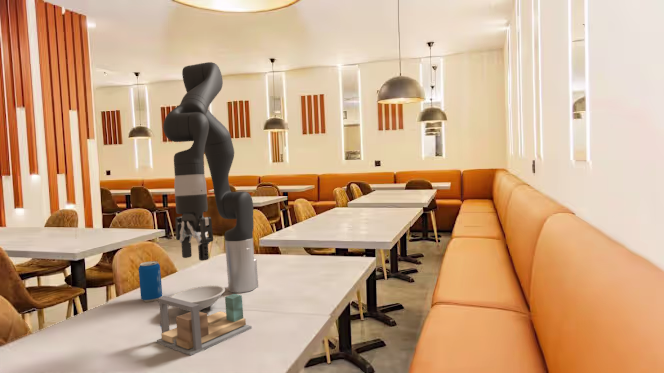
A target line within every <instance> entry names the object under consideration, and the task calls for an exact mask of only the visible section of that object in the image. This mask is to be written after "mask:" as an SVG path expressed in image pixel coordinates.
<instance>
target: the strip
mask: <svg viewBox="0 0 664 373" xmlns="http://www.w3.org/2000/svg"><path fill="white" fill-rule="evenodd" d="M224 301H225V302H224V304H225V313H226V318H227V319H224V320H222V321H219V322H217V323H214V324H212V325H209V326H208V332H209V335H206V336H204V337H202V338H201V343H204V342H207V341H209V340H211V339H213V338H216V337H218V336H220V335H223V334H225V333H227V332H230V331H232V330H234V329H237V328H239V327H241V326H244V325H247V323H246V322H247V321H246V318H244V308H243V296H242V295H241V294H238V293H233V294H230V295H227V296H224ZM176 342H177V345H178V346H181V347H183V348H186V349H190V348H193V341H192V342H188V341H185V340H183V339H180V338H177V339H176Z"/></svg>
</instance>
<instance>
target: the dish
mask: <svg viewBox="0 0 664 373" xmlns="http://www.w3.org/2000/svg"><path fill="white" fill-rule="evenodd" d="M225 291H226V288H225V286H223V285H214V284H213V285H211V284H210V285H200V286H196V287H192V288H191V287H190V288H187V289H184V290H180V291H179V292H177V293H175V294H172V295H170V297H171V298H175V299H179V300H183V301H187V302H191V303H195V304H199V305H200V309H199V312H202V310H203V309H206V308H208V307H210V306H213V304H215V303H216V302H217V301H218V300H219V299H220V298H221V296H222V294H224V293H225ZM179 309H180V310H182V311H188V310H184V309H181V308H179ZM188 312H189V311H188Z"/></svg>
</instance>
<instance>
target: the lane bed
mask: <svg viewBox="0 0 664 373" xmlns="http://www.w3.org/2000/svg"><path fill="white" fill-rule="evenodd" d="M157 301H158V303H159V314H160V326H161V333H164V332H167V331H169V330H170V319H169V307H168V306H170V307H174V308H177V309H180V308H181V309H180V310H182V309H184V310H183V311H186V310H188V312H191V322H192V335H193V348H190V349H186V348H183V347H181V346H178V345H177V342H176V339H175V340H173V342H174V343H170V342H167V341H164V340H162V337H161V338H159V339H156V344H160V345H162V346H164V347H168V348H170V349H173V350H175V351H177V352H180V353H183V354H186V355H188V356H194V355H195V354H198V353H200V352H202V351H205V350H206V349H209V348H210V347H213V346H215V345H217V344H219V343H222V342H224V341H227V340H228V339H231V338H233V337H235V336H237V335H240V334H242V333H244V332H246V331H249V330H251V329H252V325H249V324H246V325H244V326H241V327H239V328H237V329H234V330H232V331H230V332H227V333H225V334H223V335H220V336H218V337H216V338H213V339H211V340H209V341H207V342H204V343H201V330H200V317H199V312H200V311H199V309H200V305H199V304H195V303H191V302H187V301H183V300H179V299H175V298H171V296H167V295H164V296H162V297H160V298H158V300H157Z"/></svg>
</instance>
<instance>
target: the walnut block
mask: <svg viewBox="0 0 664 373" xmlns="http://www.w3.org/2000/svg"><path fill="white" fill-rule="evenodd" d="M207 316H208V313H206V312H202V311H199V317H200V330H201V338H202V337H204V336H206V335H209V332H208V318H207ZM175 320H176V323H175V324H176V328H177V336H178V338H180V339H183V340H185V341H188V342H192V341H193V335H192V322H191V311H188V312H185V313H184V314H180V315H177V316H175Z"/></svg>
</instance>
